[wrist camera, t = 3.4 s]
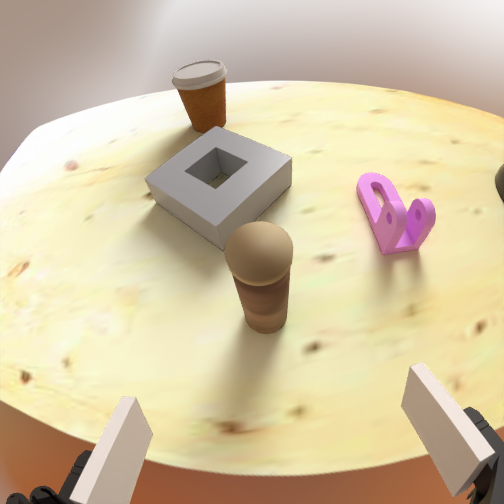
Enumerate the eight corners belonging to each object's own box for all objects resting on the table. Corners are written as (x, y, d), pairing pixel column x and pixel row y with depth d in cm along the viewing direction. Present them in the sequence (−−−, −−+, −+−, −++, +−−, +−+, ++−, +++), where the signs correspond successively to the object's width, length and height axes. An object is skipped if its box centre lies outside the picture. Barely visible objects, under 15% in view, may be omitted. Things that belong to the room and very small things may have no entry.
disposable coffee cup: (220, 140, 47) (208, 80, 37) (175, 135, 50) (159, 80, 40) (242, 113, 52) (235, 59, 42) (200, 109, 54) (189, 59, 44)
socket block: (221, 150, 46) (216, 125, 42) (291, 184, 40) (292, 157, 36) (156, 202, 41) (144, 178, 37) (223, 251, 35) (216, 226, 31)
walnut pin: (263, 286, 32) (254, 211, 21) (296, 310, 31) (306, 242, 20) (236, 317, 31) (211, 254, 20) (269, 343, 29) (263, 292, 18)
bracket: (418, 249, 33) (439, 216, 27) (382, 255, 33) (400, 220, 27) (383, 178, 40) (394, 143, 34) (351, 180, 40) (359, 143, 34)
